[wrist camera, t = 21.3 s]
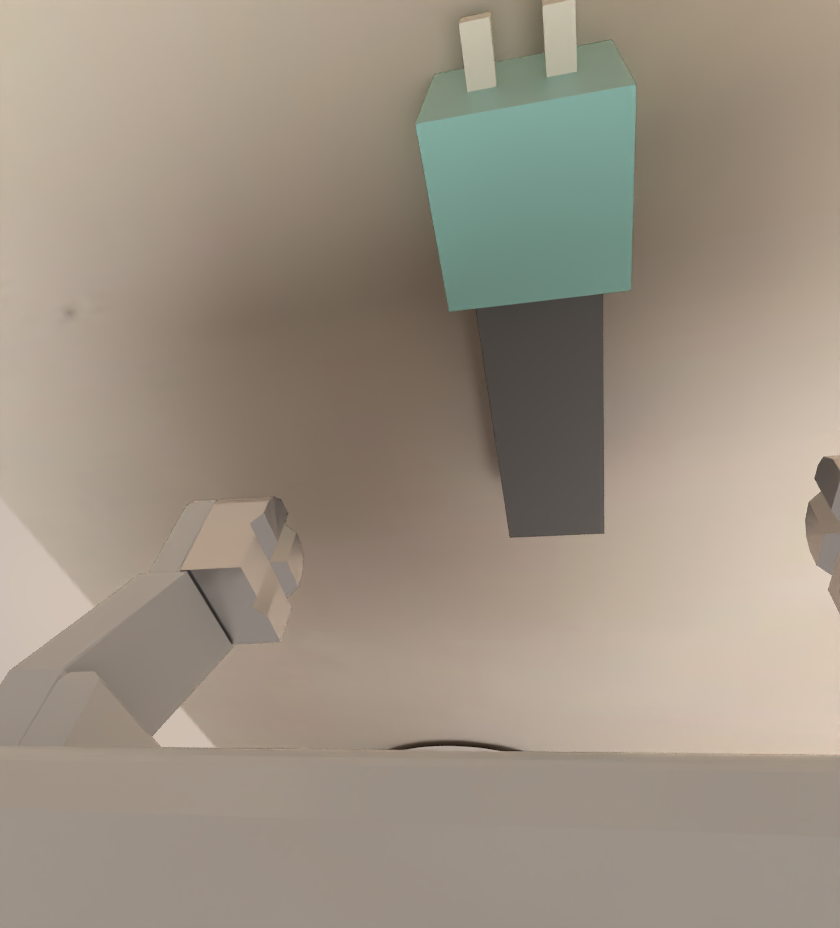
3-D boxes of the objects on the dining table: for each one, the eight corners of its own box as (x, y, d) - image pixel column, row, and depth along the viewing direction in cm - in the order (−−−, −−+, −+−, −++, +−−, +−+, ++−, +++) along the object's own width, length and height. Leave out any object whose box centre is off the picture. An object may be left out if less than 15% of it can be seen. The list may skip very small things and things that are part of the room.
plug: (610, 468, 23) (624, 557, 20) (496, 475, 24) (493, 562, 21) (611, -27, 14) (638, 3, 11) (425, 13, 14) (401, 51, 12)
